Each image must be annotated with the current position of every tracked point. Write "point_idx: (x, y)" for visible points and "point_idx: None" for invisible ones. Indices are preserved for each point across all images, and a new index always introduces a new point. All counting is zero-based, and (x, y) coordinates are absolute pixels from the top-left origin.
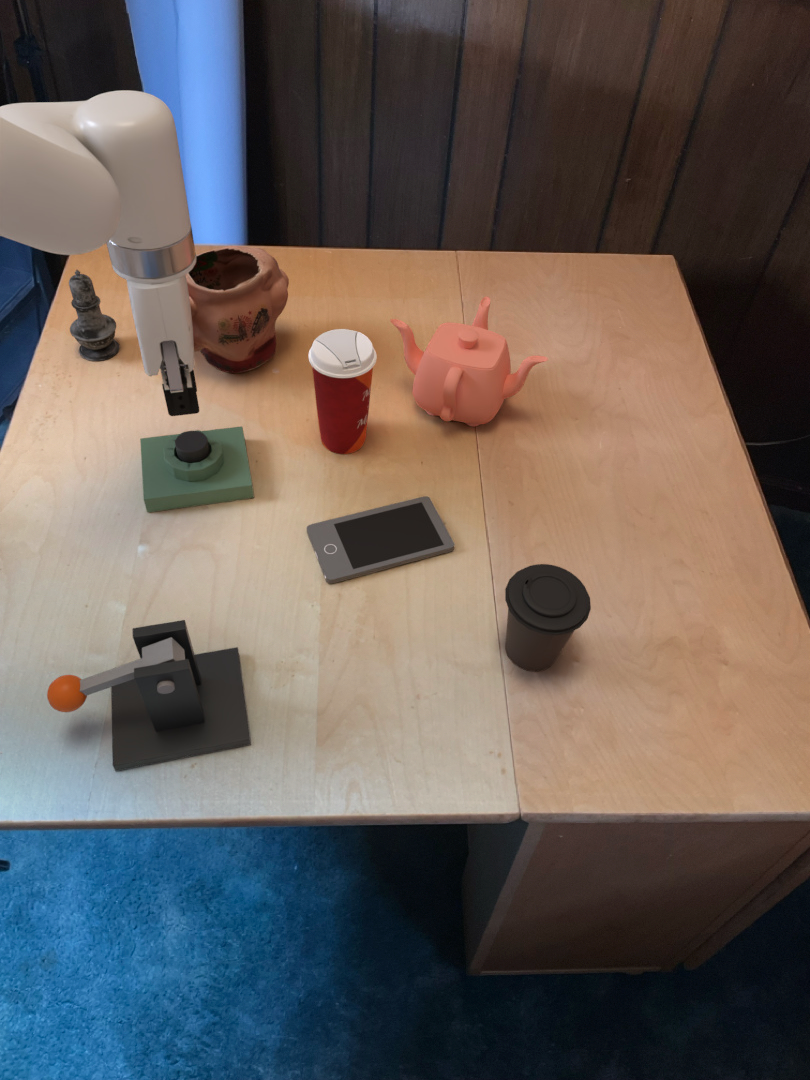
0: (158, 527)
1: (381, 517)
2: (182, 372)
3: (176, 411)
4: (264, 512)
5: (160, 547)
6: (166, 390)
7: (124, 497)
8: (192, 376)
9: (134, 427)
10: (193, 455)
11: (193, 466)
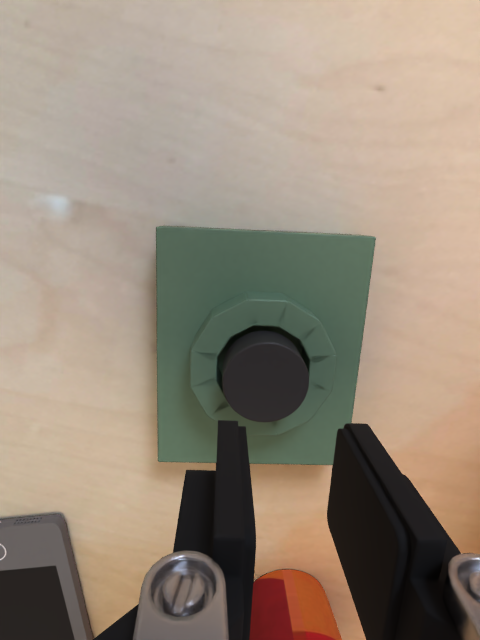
0: (115, 245)
1: (61, 634)
2: (368, 592)
3: (186, 473)
4: (122, 451)
5: (56, 244)
6: (158, 567)
7: (222, 177)
8: (352, 597)
9: (449, 219)
10: (222, 378)
11: (203, 366)
